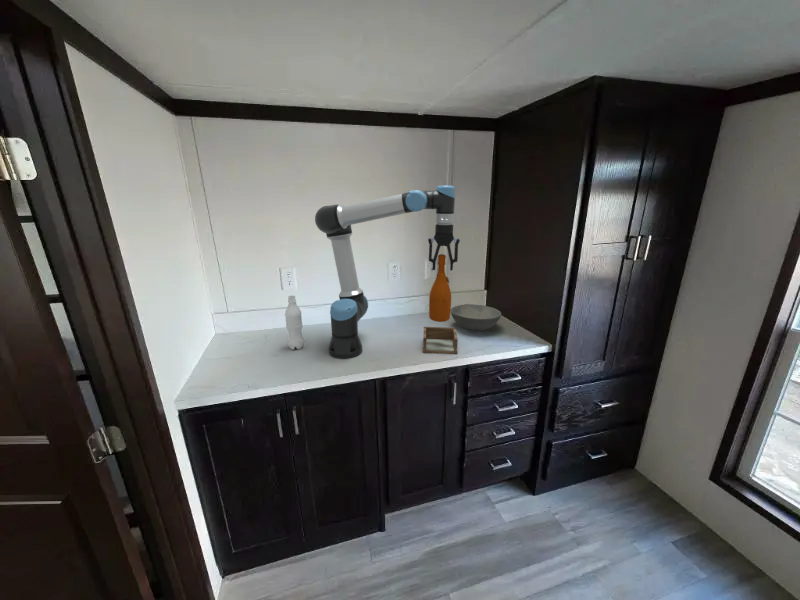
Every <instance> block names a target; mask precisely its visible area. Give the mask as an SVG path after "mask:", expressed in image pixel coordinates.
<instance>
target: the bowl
mask: <svg viewBox="0 0 800 600" xmlns="http://www.w3.org/2000/svg"><path fill="white" fill-rule="evenodd" d="M450 316H451V317H452V319H453V320H454V321H455V323H457V324H458V325H459V326H460V327H462V328H464V329H466V330H469V331H483V330H489V329H490V328H492V327H493V326H495V325H496V324H497V323H498V322H499V320H500V319H501V317H502V312H501V311H500V310H498V309H497V308H495V307H491V306H487V305H483V304H472V303H471V304H469V303H466V304H459V305H455V306H453V307H451V311H450Z"/></svg>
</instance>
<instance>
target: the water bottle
mask: <svg viewBox="0 0 800 600" xmlns="http://www.w3.org/2000/svg"><path fill="white" fill-rule="evenodd" d="M287 298H288V300H287V302H288V305H287V308H285V312H284V316H285V327H286V330H287V333H288V339H287V344H288V347H289V348H290V350H293V351H294V350H295V348H296V349H297V350H301V348H302V347H303V346H304V345H305V344H304V343H305V340H304V337H303V334H302V330H303V321H302V320H303V319H302V318H303V317H302V310H301V309H300V307H299V306H298V304H297V299H296V295H288V297H287Z"/></svg>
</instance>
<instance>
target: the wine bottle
mask: <svg viewBox="0 0 800 600" xmlns="http://www.w3.org/2000/svg"><path fill="white" fill-rule="evenodd" d="M446 257H447V256H446V254H442V253H440V254H438V256H437V259H438V260H437V278H435V280H434V281H433V284H432V287H431V289H430V292H429V296H428V297H429V299H428V303H429V304H428V315H429V319H430V320H431V321H433V322H438V323H443V322H444V323H445V322H447V321H449V320H450V318H451V308H452V292H451V288H450V285H449V284H450V281H449V278H448V276H446V273H445V271H446V270H445V267H446V266H445V265H446Z"/></svg>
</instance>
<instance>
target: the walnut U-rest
mask: <svg viewBox="0 0 800 600" xmlns="http://www.w3.org/2000/svg"><path fill="white" fill-rule="evenodd" d="M422 334H423V335H422V336H423V337H422V338H423V340H422V353H423V354H439V355H441V354H442V355H443V354H444V355H458V342H459V341H458V333H457V328H456V327H445V326H443V327H441V326H439V327H438V326H423V333H422Z"/></svg>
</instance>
